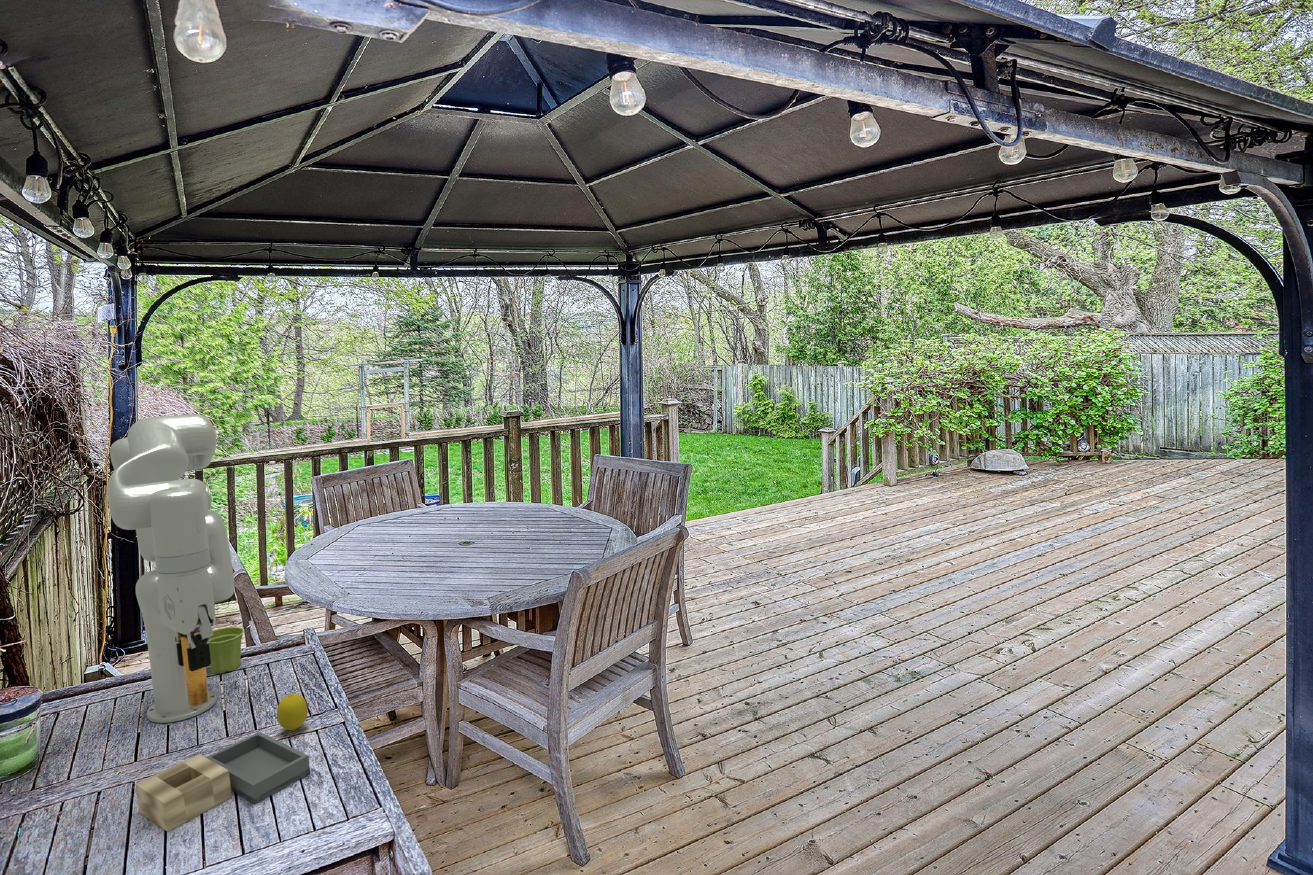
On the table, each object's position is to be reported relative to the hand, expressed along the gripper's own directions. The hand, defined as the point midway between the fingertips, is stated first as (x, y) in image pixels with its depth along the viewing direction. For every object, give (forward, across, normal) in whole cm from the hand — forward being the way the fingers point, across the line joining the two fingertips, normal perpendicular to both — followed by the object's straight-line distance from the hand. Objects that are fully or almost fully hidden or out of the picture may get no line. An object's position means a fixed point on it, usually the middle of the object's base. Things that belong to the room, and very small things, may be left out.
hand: (194, 664), depth 119 cm
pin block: (+24, 0, -4) cm, 24 cm away
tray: (+24, +2, +8) cm, 25 cm away
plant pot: (+24, -49, +26) cm, 61 cm away
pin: (+7, 0, 0) cm, 7 cm away
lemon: (+24, -7, +19) cm, 32 cm away
